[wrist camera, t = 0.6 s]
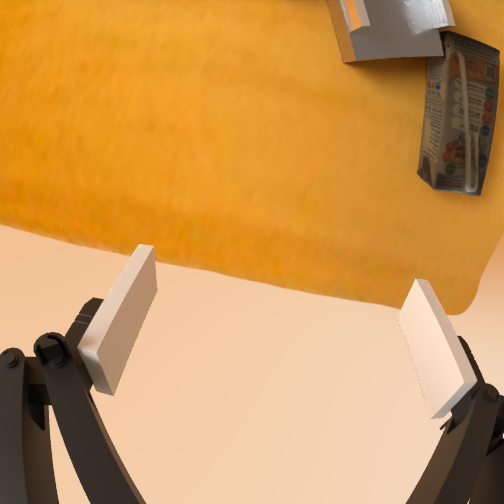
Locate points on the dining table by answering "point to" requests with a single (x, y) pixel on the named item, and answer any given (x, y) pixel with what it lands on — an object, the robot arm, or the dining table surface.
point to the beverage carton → (459, 114)
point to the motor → (389, 28)
